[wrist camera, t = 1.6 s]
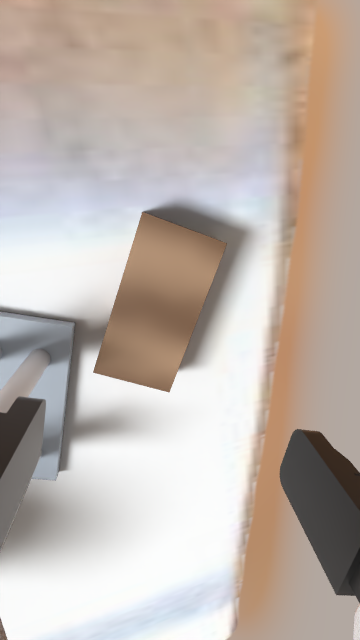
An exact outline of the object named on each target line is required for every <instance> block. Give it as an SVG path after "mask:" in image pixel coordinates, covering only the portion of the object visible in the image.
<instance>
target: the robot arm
mask: <svg viewBox="0 0 360 640" xmlns="http://www.w3.org/2000/svg"><path fill="white" fill-rule="evenodd" d="M45 411H46V400H45V399H38V398H29V397H21V396H19V397H17V399H16V400H15V401H14V403H13V404H12V406H11V407H10V409H9V410H8V411H7V413H2V412H0V550H1V548H2V546H3V543H4V541H5V539H6V536H7V534H8V532H9V529H10V527H11V525H12V522H13V520H14V518H15V515H16V513H17V511H18V508H19V506H20V503H21V501H22V499H23V496H24V494H25V492H26V489H27V487H28V485H29V482H30V480H31V478H32V475H33V473H34V471H35V468H36V466H37V463H38V460H39V457H40V453H41V449H42V443H43V432H44V422H45ZM280 481H281V484H282V487H283V489H284V491H285V493H286V495H287V497H288V499H289V501H290V503H291V505H292V507H293V509H294V511H295V513H296V515H297V517H298V519H299V521H300V523H301V525H302V527H303V529H304V531H305V533H306V535H307V537H308V539H309V541H310V543H311V545H312V547H313V549H314V551H315V553H316V555H317V557H318V559H319V561H320V563H321V565H322V567H323V569H324V571H325V573H326V575H327V577H328V579H329V581H330V583H331V585H332V587H333V589H334V591H335V593H336V595H351V596H356V597H357V599H358V601H359V605H358V606H357V609H356V611H355V619H354V637H353V640H360V473H359V472H358V470H357V469H356V468H355V467H354V466H353V464H352V463H351V462H350V461H349V460H348V459H346V458H345V457H344V456H343V455H342V454H340V453H339V452H338V451H337V450H335V449H334V448H333V447H332V446H331V444H330V443H329V442H328V441H327V439H326V438H325V437H324V436H323V434H322V433H320V432H318V431H309V430H301V429H297V430H295V431H294V432H293V434H292V436H291V439H290V441H289V444H288V447H287V450H286V453H285V456H284V458H283V461H282V464H281V467H280ZM0 640H7V637H6V634H5V631H4V628H3V625H2V622H1V619H0Z"/></svg>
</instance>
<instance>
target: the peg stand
mask: <svg viewBox="0 0 360 640" xmlns="http://www.w3.org/2000/svg"><path fill="white" fill-rule="evenodd" d="M74 329H75V323H74V322H67V321H60V320H54V319H47V318H41V317H34V316H28V315H21V314H14V313H8V312H1V311H0V412H2V413H7V411H8V410H9V409H10V407H11V406H12V404H13V403H14V401H15V400H16V399H17V397H19V396H21V397H29V398H38V399H45V400H46V411H45V422H44V432H43V443H42V449H41V453H40V457H39V460H38V463H37V466H36V468H35V471H34V473H33V475H32V478H31V479H44V480H56V478H57V475H58V472H59V464H60V455H61V446H62V437H63V428H64V419H65V410H66V401H67V392H68V383H69V374H70V365H71V356H72V347H73V338H74ZM30 481H31V480H30ZM29 483H30V482H29ZM27 488H28V487H27ZM26 490H27V489H26ZM24 495H25V494H24ZM23 497H24V496H23ZM21 502H22V501H21ZM20 504H21V503H20ZM19 507H20V506H19ZM18 509H19V508H18ZM16 514H17V513H16ZM15 516H16V515H15ZM13 521H14V520H13ZM12 523H13V522H12ZM11 526H12V525H11ZM10 528H11V527H10ZM9 530H10V529H9ZM8 533H9V532H8ZM7 535H8V534H7ZM6 537H7V536H6ZM5 540H6V539H5ZM4 542H5V541H4ZM3 545H4V543H3ZM2 547H3V546H2ZM1 549H2V548H1ZM0 552H1V550H0Z"/></svg>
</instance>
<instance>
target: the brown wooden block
mask: <svg viewBox="0 0 360 640" xmlns="http://www.w3.org/2000/svg"><path fill="white" fill-rule="evenodd" d="M226 245H227V243H225V242H222V241H220V240H217V239H215V238H212V237H209V236H207V235H204V234H201V233H198V232H196V231H193V230H190V229H188V228H185V227H182V226H180V225H177V224H174V223H171V222H169V221H166V220H163V219H161V218H158V217H155V216H153V215H150V214H147V213H144V212H142V215H141V218H140V221H139V225H138V228H137V231H136V234H135V238H134V241H133V244H132V248H131V251H130V254H129V257H128V261H127V264H126V267H125V270H124V274H123V277H122V280H121V283H120V287H119V290H118V293H117V296H116V300H115V303H114V306H113V309H112V313H111V316H110V319H109V322H108V326H107V329H106V332H105V335H104V339H103V342H102V345H101V348H100V352H99V355H98V358H97V361H96V365H95V368H94V371H93V373H97V374H101V375H105V376H109V377H112V378H116V379H120V380H124V381H128V382H132V383H135V384H139V385H143V386H147V387H151V388H155V389H158V390H162V391H166V392H170V389H171V387H172V384H173V382H174V379H175V376H176V374H177V371H178V369H179V366H180V364H181V361H182V358H183V356H184V353H185V351H186V348H187V346H188V343H189V340H190V338H191V335H192V333H193V330H194V327H195V325H196V322H197V320H198V317H199V315H200V312H201V309H202V307H203V304H204V302H205V299H206V297H207V294H208V291H209V289H210V286H211V284H212V281H213V279H214V276H215V273H216V271H217V268H218V266H219V263H220V261H221V258H222V255H223V253H224V250H225V248H226Z"/></svg>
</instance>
